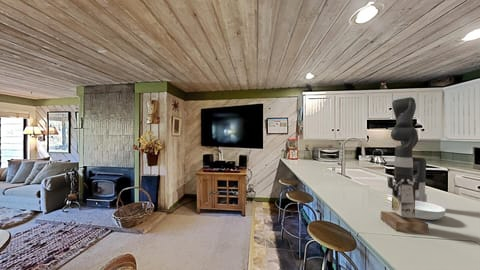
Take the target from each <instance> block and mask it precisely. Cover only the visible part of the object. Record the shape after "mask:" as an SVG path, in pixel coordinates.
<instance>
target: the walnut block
mask: <svg viewBox="0 0 480 270" xmlns="http://www.w3.org/2000/svg"><path fill="white" fill-rule="evenodd" d="M380 221H382V222H383V223H385V224H386V225H387V226H389V227H390V228H391V229H392V230H394V231H395V232H401V233H412V234H414V233H415V234H424V233H427V235H428V234H429V224H428V223H426V222H425V221H424V220H423V219H419V218H416V217H415V218H412V217H402V216H400V215H398V214H397V213H395V212H394V211H380Z"/></svg>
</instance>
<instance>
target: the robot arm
mask: <svg viewBox="0 0 480 270" xmlns="http://www.w3.org/2000/svg"><path fill="white" fill-rule="evenodd" d="M391 106H392V110H393V113H394V117H395V121H396V124H395V125H394V127H393V129H392V130H391V132H390V137H391V139H392V140H393V141H396V142H400V145H396V146H395V149H394V161H393V162H394V164H393V165H394V166H393V168H394V169H393V173H394V175H393V176H387V187H388V188H389V189H391V195H392V194H393V196H394V197H397V189H398V184H412V185H415V201H422V202H427V203H428V195H427V193H426V175H427V174H426V173H427V159H425V157H416V156H415V157H414V156H413V149H414V148H415V147H416V146H417V144H418V142H419V135H418V134H419V133H418V131H417V129H416V127H414V126H413V118H414V115H415V113H416V109H417V103H416V100H415V98H414V97H412V96H409V97H404V98H399V99H394V100H392V103H391ZM414 172H417V173H416V174H414ZM393 182H395V183H398V184H395V183H394V185H393ZM392 190H393V191H392Z"/></svg>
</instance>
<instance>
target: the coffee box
mask: <svg viewBox="0 0 480 270" xmlns="http://www.w3.org/2000/svg"><path fill="white" fill-rule="evenodd" d="M394 183H395V181H393V185H394ZM395 184H398V183H395ZM392 191H393V190H392V189H391V192H392ZM391 212H395V213H397V214H398V215H400V216H402V217H412V218H415V185H412V184H398V189H397V197H394V196H393V194H392V193H391Z"/></svg>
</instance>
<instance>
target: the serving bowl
mask: <svg viewBox="0 0 480 270" xmlns="http://www.w3.org/2000/svg"><path fill="white" fill-rule="evenodd" d="M446 212H447V211H446V208H444V207H443V206H440V205H438V204H435V203H432V202H431V203H430V202H428V201H427V202H422V201H415V217H416V218H418V219H420V220H425V221H426V220H430V221H431V220H432V221H434V220H440V219H442V218H444V216H445V215H446Z"/></svg>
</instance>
